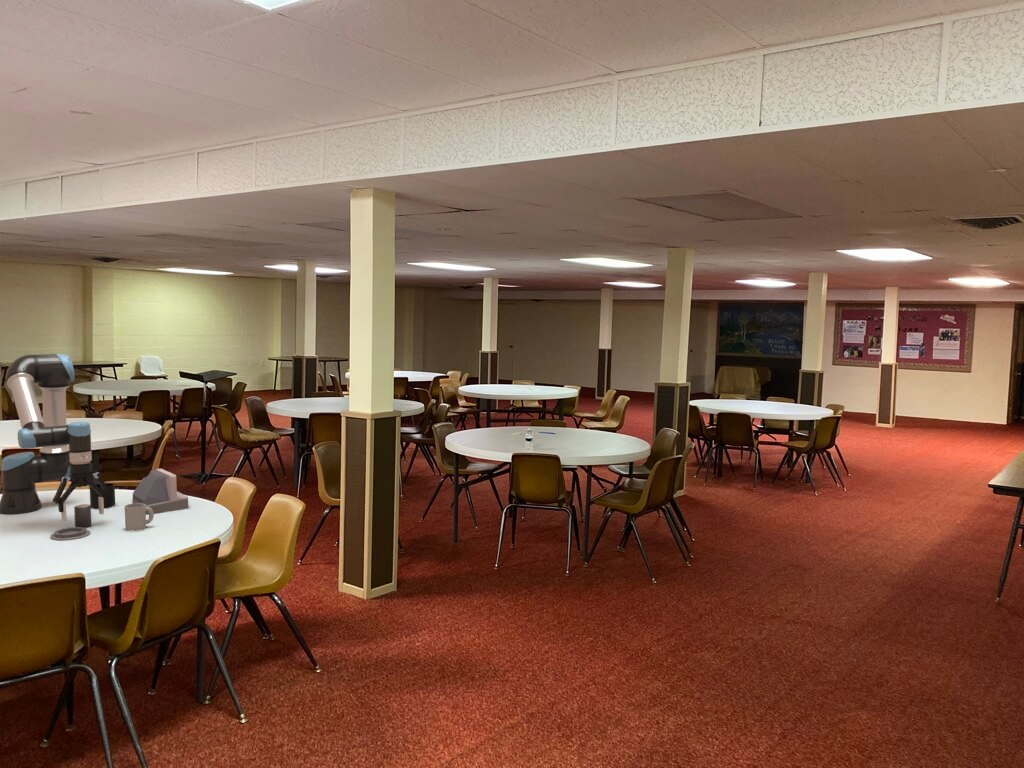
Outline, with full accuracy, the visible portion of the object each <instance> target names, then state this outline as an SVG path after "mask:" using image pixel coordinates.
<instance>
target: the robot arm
mask: <svg viewBox="0 0 1024 768" xmlns="http://www.w3.org/2000/svg"><path fill="white" fill-rule="evenodd" d="M5 374H6V375H5V382H6V386H7V387H8V389H10V391H11V393H12V398H13V400H14V405H15V409H16V412H17V416H18V418H19V422H20V426H21V428H20V429H18V431H17V443H18V446H19V448H21V449H36V448H40V449H39V454H35V453H34V452H33V451H23V452H18V453H14V454H9V455H6V456H5V457H3V459H2V460H1V469H0V471H1V477H2V478H1V480H2V494H1V498H0V514H6V515H15V514H25V513H31V512H34V511H39V510H40V509H42V502H41V499H40V497H39V494H38V492H37V489H36V488H37V487H36V484H39V483H47V482H54V481H60V483H59V485H58V487H57V490H56V493H55V494H54V497H53V498H52V502H53V503H54V504H57V505H58V512H59V513H61V521H63V522H66V521H67V520H68V519H67V503H65V502H66V500H67V499H68V498H69V497H70V495H71V494H72V493H73V492H74V490H75V489H76V488H82V487H88V486H89V488H90V487H91V488H93V489H94V490H95V491H96V492H97V493H98V494H99V495H100V496H101V497H98V500H99V509H98V514H100V515H105V509H104V505H106V497H107V495H110V494H111V492H110V491H109V489H108V487H107V486H106V484H105V483H106V482H105V481H104V479H103V477H102V473H101V472H98V471H96V472H95V473H93V463H92V462H91V461H92V460H93V458H92V436H91V434H92V429H91V425H90V424H91V423H90V422H88V421H75V422H70V423H68V424H67V389H68V388H69V387H71V386H70V385H71V382H73V381H74V380H75V368H74V365H73V362H72V360H71V358H70V356H69V355H67V354H63V353H49V354H48V353H47V354H25V355H22V356H20V357H18V358H16V359H15V360H14V361H13V362H12V363H11V364H10V365H9V366H8V368H7V370H6V373H5ZM34 384H37V387H38V388H39V389H40V390H41V391H42V392H41V393H42V412H41V409H40V405H39V402H38V398H37V394H36V392H35V388H34ZM93 479H96V481H97V484H100V486H101V487H102V489H103V491H104V493H103V492H102V491H101V490H100V489H99V488H98V487H97V486H96V485H95V484H96V483H94V482H93V481H92V480H93ZM69 482H70V484H69V485H68V488H67V489H66V490H65V488H66V486H67V484H68V483H69ZM64 490H65V491H64Z"/></svg>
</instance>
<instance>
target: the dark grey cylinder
mask: <svg viewBox="0 0 1024 768" xmlns="http://www.w3.org/2000/svg"><path fill="white" fill-rule="evenodd" d="M73 508H74V511H73V512H74V527H83V528H86V529H88V528H92V508H91V505H90V504H88V503H86V504H78V505H75V506H74V507H73Z"/></svg>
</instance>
